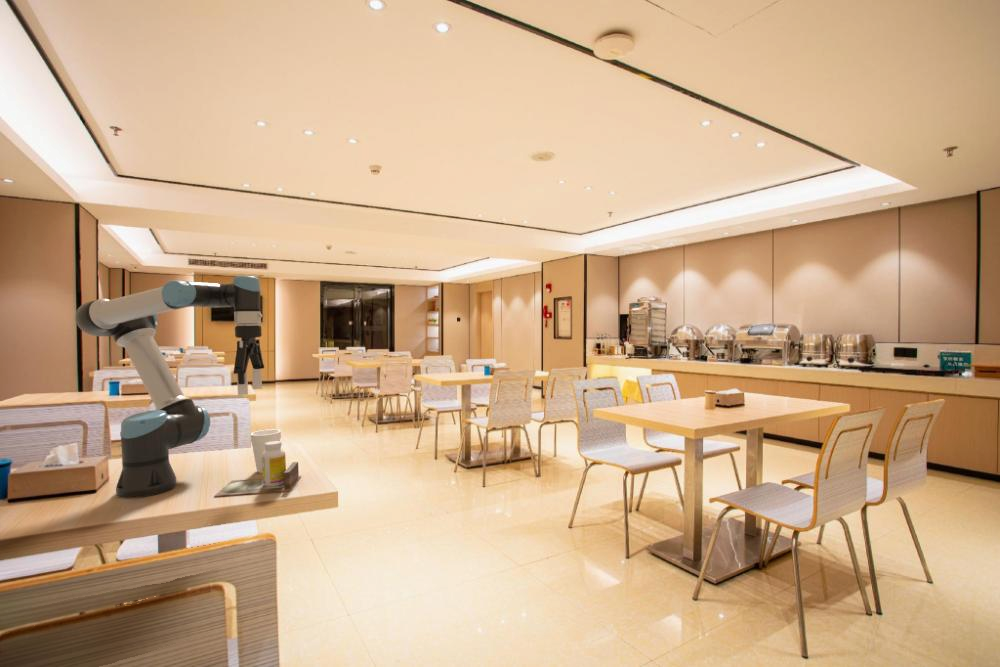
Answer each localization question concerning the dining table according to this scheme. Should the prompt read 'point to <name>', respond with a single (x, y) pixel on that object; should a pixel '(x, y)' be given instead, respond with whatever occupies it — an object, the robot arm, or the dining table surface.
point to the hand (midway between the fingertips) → (250, 391)
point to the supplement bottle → (273, 464)
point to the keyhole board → (261, 484)
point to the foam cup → (263, 443)
